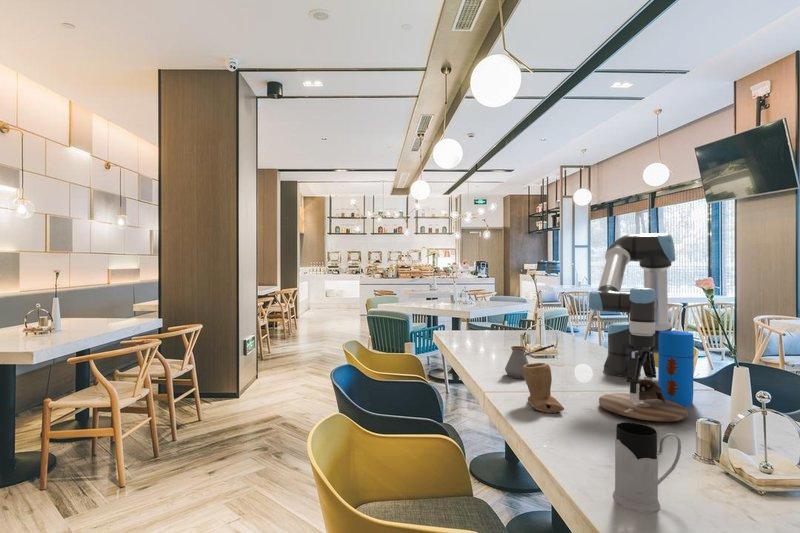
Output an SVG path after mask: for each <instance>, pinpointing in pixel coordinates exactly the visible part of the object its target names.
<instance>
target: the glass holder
mask: <svg viewBox="0 0 800 533" xmlns="http://www.w3.org/2000/svg"><path fill="white" fill-rule="evenodd" d="M615 430H616V431H615V433H616V434H615V436H616V437H615V442H614V443H615V444H614V446H615V448H614V457H615V458H614V491H613V492H612V499H613V500H614V501H615V502H616V503H617V504H618V505H620V506H622V507H623V508H625V509H628V510H631V511H635V512H639V513H655V512H657V511H659V510H660V509H661V504H660V501H659V498H658V496H659V493H658V492H659V490H658V489H659V485H660V484H662V482H663V481H664V480H665V479H666V478H667V477H669V475H671V473H672V472H673V471H674V470H675V469H676V467H677V464H679V460H680V456H681V454H682V441H681V438H680V437H679V436H678V435H676V434H675V433H671V432H668V433H665V434H663V435H662V436H661V438H660V441H659V449H658V430H656V429H655V428H654V427H651V426H649V425H646V424H642V423H637V422H631V421H630V422H629V421H628V422H624V421H623V422H619V423H617V424H616V425H615ZM670 436H673V437H675V438H676V440H677V451H676V455H675V457H674V461H673V462H672V464H671V466H670V467H669V468H668V470H667V471H666V472H665V473H664V474H663V475H662V476H661V477H659V455H661V454H662V453H663V449H664V442H665V441H666V439H667V438H668V437H670Z"/></svg>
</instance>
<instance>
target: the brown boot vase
mask: <svg viewBox="0 0 800 533" xmlns="http://www.w3.org/2000/svg"><path fill="white" fill-rule="evenodd" d="M523 375H524V378H523V379H524V381H525V383H526V385H527V388H528V392H529V396H528V397H527V401H528V402H529V404H530V405H531V406H532V407H533V408H534V409H535V410H537V411H540V412H543V413H547V414H554V413H560V412H563V411H564V410H565V407H564V406H563V405H562V404H561V403H560V402H559V401H558V399H556V398H555V397H554V396H552V395H551V394H552V393H551V387H552V381H553V378H552V370H551V367H550V365H549V363H545V362H535V363H529V364H526V365H524V366H523Z"/></svg>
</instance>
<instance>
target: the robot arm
mask: <svg viewBox="0 0 800 533" xmlns="http://www.w3.org/2000/svg"><path fill="white" fill-rule="evenodd" d="M604 259H605V264H604V268H603V271H602V275H601V279H600V282H599V286H598V287H597V288H598V289H597V290H592V291H590V292H589V295H588V307H589V309H590V310H591V311H596V312H597V311H598V312H606V313H607V312H608V313H629V321H620V322H612V323H611V324H609V325H608V328H607V356H606V359H605V362H604V364H603V372H604V373H606V374H607V375H612V376H616V377H625V378H626V379H625V381H626V383H629V393H630V402H632V403H636V404H639V392H640V391H639V383H638V380H640V376H641V372H642V370H643V372H644V376H643V380H644V379H647V380H652V381H654V379H656V378H657V370H656V360H655V355H656V354H657V355H658V348H659V331H677V329H676V328H674V327H673V324H672V323H671V322H670V321H669V312H668V309H669V308H668V307H669V306H668V304H669V303H668V296H669V295H668V269H670V267H671V266H672V263H673V262H676V249H675V243H674V239H673V237H672V235H671V234H669V233H660V232H658V233H657V232H654V233H652V232H651V233H637V234H632V233H630V234H627V235H622V236H621V237H618V238H617V239H616V240H614V241H613V242H612V243H611V244H610V245H609V246H608V247H607V250H606V251H605V255H604ZM630 262H639V267H640V268H641V269H643V287H633V288H631V289H630V290H629V291H621V288H622V285H623V281H624V277H625V272H626V267H627V265H628V264H629V263H630ZM642 368H643V369H642ZM647 386H649V387H650V385H647Z"/></svg>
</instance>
